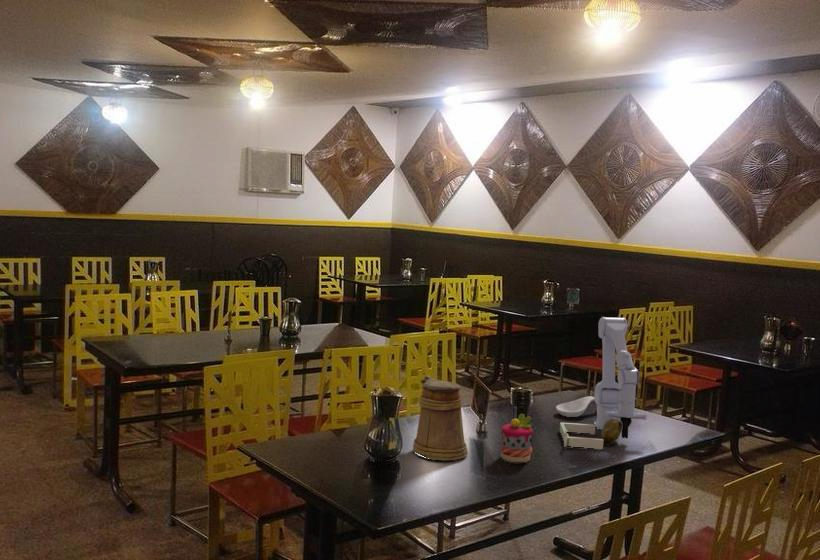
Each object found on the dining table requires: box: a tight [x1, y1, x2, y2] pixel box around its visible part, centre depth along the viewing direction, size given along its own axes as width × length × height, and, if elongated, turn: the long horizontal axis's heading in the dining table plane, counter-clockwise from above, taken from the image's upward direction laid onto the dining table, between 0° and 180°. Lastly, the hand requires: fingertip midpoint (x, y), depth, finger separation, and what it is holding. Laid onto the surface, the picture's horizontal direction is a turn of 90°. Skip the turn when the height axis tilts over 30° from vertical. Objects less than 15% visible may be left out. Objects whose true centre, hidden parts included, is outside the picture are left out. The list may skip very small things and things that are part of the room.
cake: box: [499, 413, 533, 462], centre depth 252 cm, size 10×11×15 cm
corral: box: [559, 422, 604, 450], centre depth 278 cm, size 19×13×4 cm
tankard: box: [412, 374, 469, 461], centre depth 256 cm, size 18×24×25 cm
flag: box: [563, 430, 567, 448], centre depth 266 cm, size 3×1×7 cm, turn 175°
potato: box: [600, 418, 622, 446], centre depth 276 cm, size 8×13×8 cm, turn 135°
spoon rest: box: [555, 396, 598, 418], centre depth 314 cm, size 24×12×7 cm, turn 120°
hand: (624, 437), depth 276 cm, fingers closed, pressing on potato
